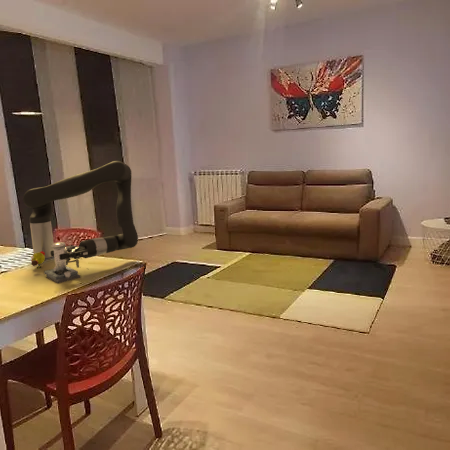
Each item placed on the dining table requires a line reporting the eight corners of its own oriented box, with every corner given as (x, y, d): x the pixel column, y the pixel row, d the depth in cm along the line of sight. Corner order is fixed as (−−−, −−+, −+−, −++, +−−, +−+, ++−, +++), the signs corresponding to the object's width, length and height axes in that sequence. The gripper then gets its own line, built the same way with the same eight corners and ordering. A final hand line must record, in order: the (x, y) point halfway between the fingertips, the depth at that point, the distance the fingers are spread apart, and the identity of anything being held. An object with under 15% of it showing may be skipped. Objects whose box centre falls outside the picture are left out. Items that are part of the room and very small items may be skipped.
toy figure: (36, 262, 187) (34, 248, 186) (49, 261, 188) (47, 247, 187) (27, 274, 170) (25, 258, 169) (41, 272, 171) (39, 257, 170)
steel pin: (53, 277, 164) (49, 244, 161) (65, 274, 168) (61, 241, 165) (58, 280, 161) (55, 246, 158) (70, 277, 164) (67, 243, 161)
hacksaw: (65, 260, 192) (65, 257, 191) (88, 257, 195) (88, 254, 195) (63, 274, 169) (62, 271, 169) (89, 271, 173) (88, 268, 172)
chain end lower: (46, 277, 165) (45, 270, 164) (68, 272, 171) (67, 265, 170) (58, 283, 157) (57, 275, 156) (80, 277, 163) (79, 270, 162)
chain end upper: (44, 276, 166) (43, 269, 165) (66, 271, 172) (65, 264, 172) (56, 282, 158) (55, 274, 158) (78, 276, 164) (77, 269, 164)
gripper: (84, 236, 177) (47, 243, 166) (100, 241, 167) (61, 249, 156) (86, 253, 178) (49, 261, 167) (102, 259, 168) (63, 267, 157)
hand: (55, 255), depth 161 cm, fingers open, 8 cm apart
